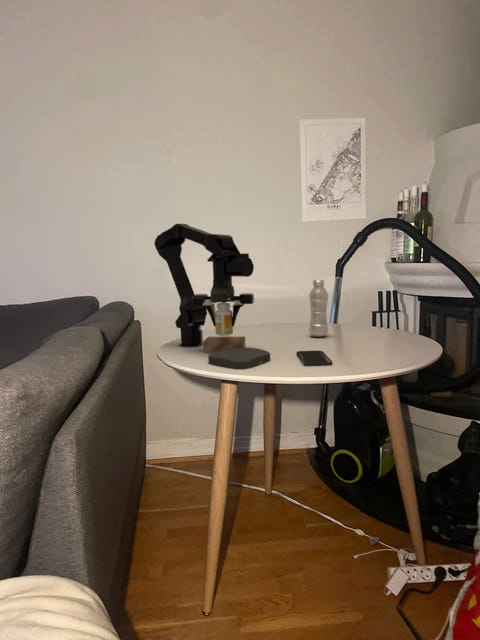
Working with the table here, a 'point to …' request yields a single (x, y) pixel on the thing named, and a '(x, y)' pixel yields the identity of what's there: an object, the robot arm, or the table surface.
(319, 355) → the phone
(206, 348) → the block
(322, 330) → the plastic bottle
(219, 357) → the media streaming box
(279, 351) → the table surface
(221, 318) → the supplement bottle
